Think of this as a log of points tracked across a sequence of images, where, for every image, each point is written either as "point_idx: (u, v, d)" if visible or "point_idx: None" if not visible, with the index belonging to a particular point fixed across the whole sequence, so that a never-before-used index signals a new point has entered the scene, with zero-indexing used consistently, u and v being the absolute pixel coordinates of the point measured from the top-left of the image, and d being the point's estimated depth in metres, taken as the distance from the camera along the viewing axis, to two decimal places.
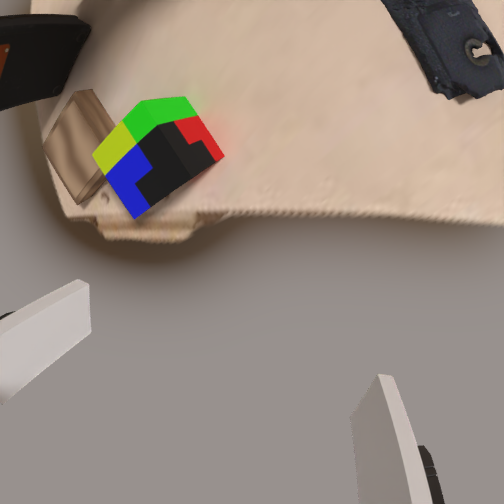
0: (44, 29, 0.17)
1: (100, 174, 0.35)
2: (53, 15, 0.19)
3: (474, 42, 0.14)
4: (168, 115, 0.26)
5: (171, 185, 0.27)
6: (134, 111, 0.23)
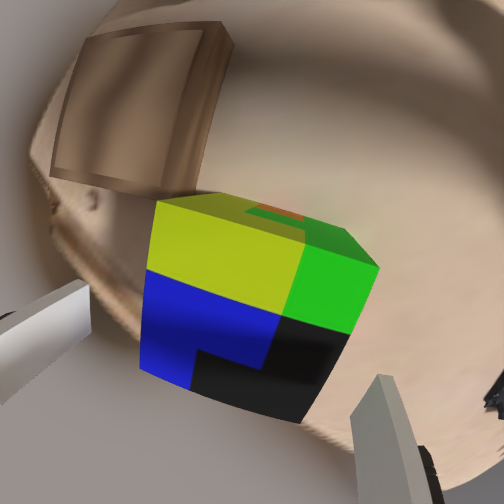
0: None
1: (120, 189, 0.18)
2: None
3: None
4: None
5: (259, 407, 0.13)
6: (347, 266, 0.11)
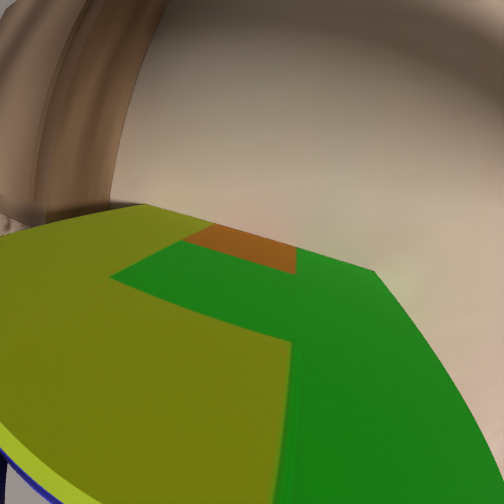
0: None
1: None
2: None
3: None
4: None
5: None
6: None
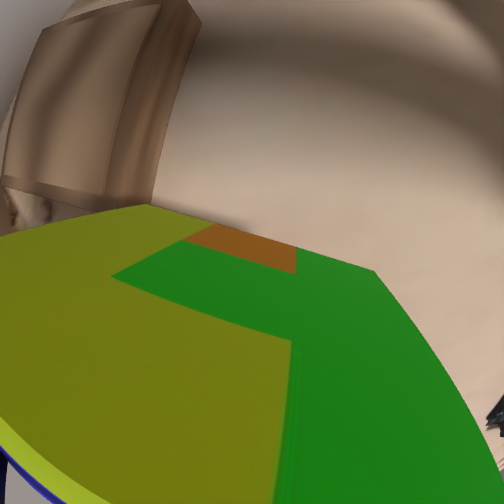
0: None
1: (62, 199, 0.13)
2: None
3: None
4: None
5: None
6: None
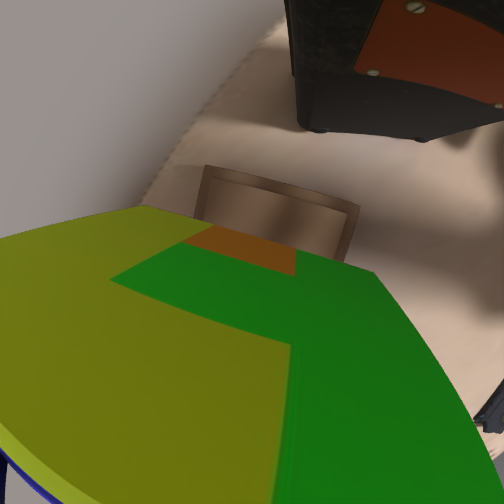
0: (478, 126, 0.12)
1: None
2: None
3: None
4: None
5: None
6: None
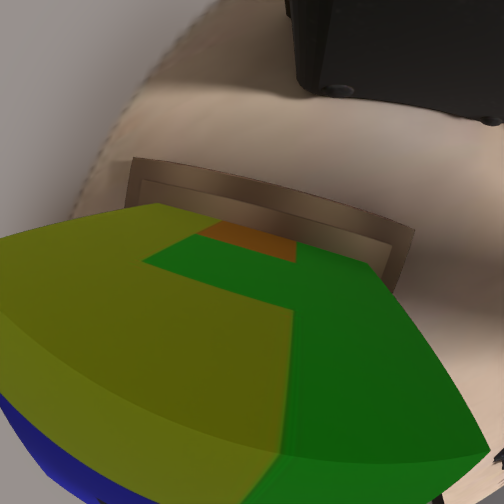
0: None
1: None
2: None
3: None
4: None
5: None
6: (414, 476, 0.02)
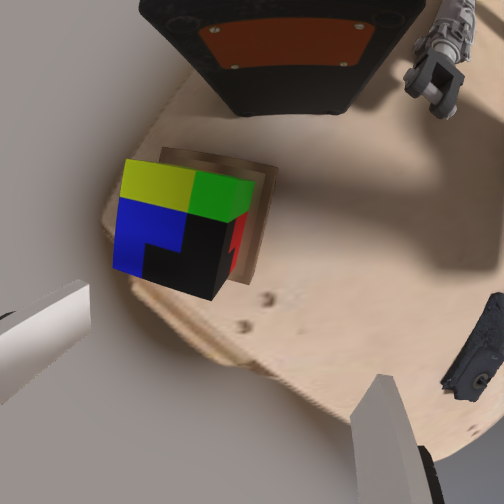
0: (361, 88, 0.20)
1: None
2: None
3: (485, 376, 0.31)
4: (237, 209, 0.23)
5: (183, 286, 0.22)
6: (218, 180, 0.20)
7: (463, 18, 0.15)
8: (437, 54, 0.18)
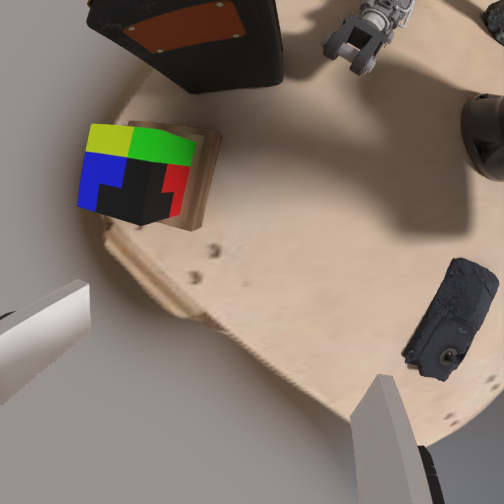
0: (271, 55, 0.23)
1: (163, 222, 0.37)
2: (279, 32, 0.26)
3: (453, 351, 0.35)
4: (168, 156, 0.27)
5: (122, 214, 0.27)
6: (148, 131, 0.24)
7: None
8: (357, 20, 0.22)
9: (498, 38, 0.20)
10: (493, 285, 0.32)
